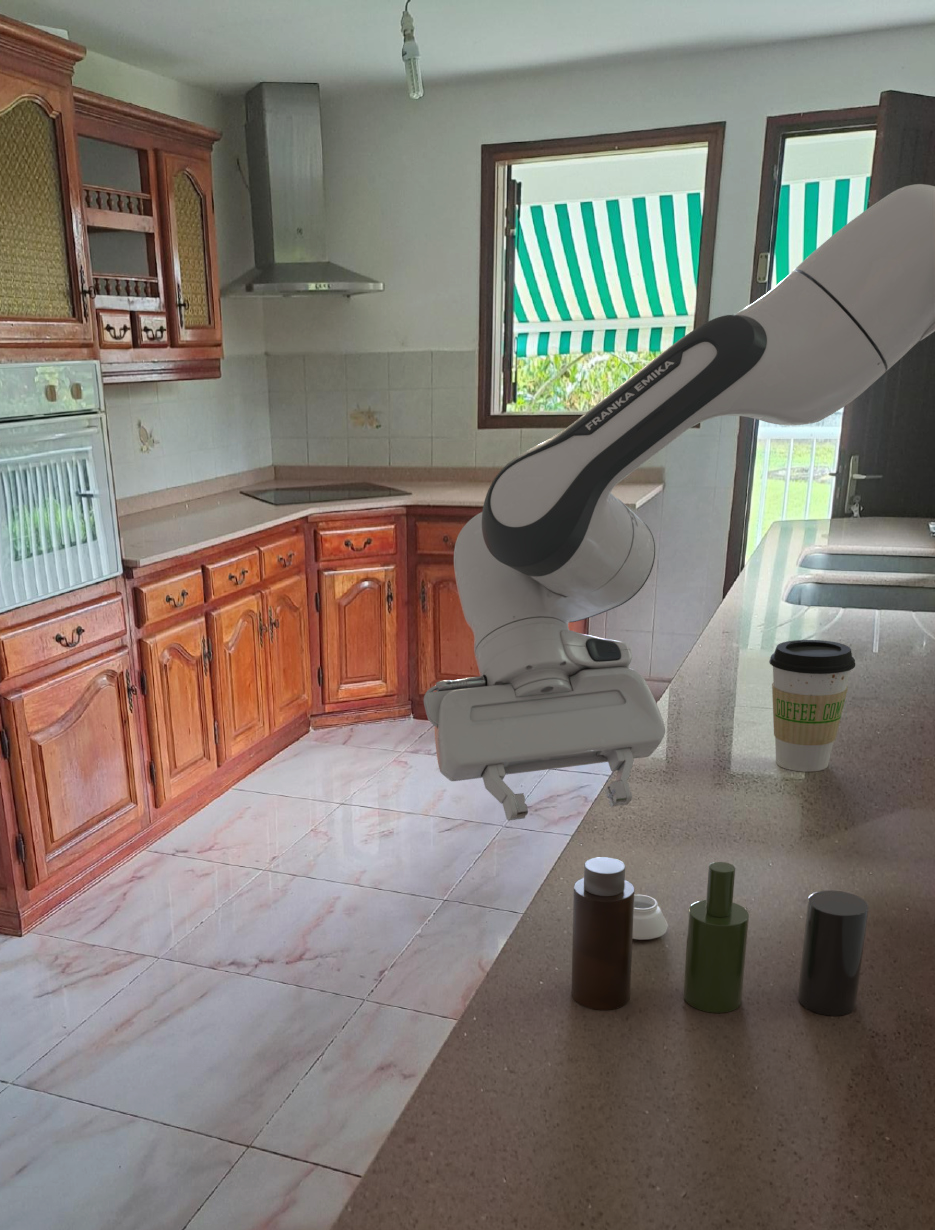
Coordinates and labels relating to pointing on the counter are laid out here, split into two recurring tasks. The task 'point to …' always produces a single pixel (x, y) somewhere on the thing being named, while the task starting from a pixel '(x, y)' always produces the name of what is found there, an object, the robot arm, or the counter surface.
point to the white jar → (647, 918)
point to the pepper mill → (602, 935)
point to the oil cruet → (716, 945)
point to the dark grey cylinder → (832, 952)
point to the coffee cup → (808, 700)
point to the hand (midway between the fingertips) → (570, 810)
